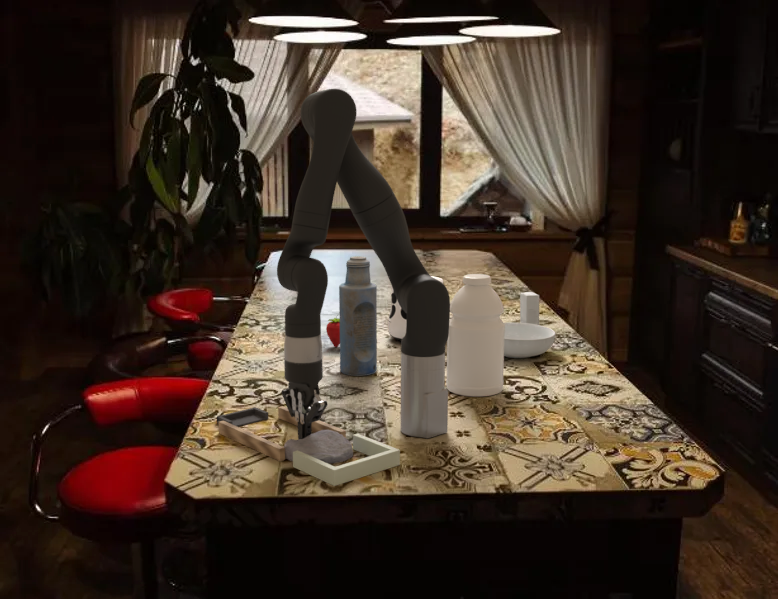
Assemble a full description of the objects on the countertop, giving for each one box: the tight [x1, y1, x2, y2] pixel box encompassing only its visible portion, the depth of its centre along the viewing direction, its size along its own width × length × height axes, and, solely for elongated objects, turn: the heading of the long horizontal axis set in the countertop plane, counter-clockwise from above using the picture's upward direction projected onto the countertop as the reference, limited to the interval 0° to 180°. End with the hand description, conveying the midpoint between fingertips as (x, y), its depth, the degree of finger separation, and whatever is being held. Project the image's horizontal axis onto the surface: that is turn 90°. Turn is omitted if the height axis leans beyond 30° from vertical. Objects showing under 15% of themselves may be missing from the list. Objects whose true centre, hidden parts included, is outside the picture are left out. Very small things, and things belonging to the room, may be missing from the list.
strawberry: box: [325, 314, 340, 348], centre depth 275 cm, size 6×8×10 cm
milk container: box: [387, 275, 445, 342], centre depth 284 cm, size 17×17×18 cm
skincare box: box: [519, 291, 540, 325], centre depth 293 cm, size 6×4×12 cm
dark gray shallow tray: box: [216, 407, 269, 427], centre depth 210 cm, size 5×10×2 cm, turn 132°
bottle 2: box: [445, 273, 506, 397], centre depth 232 cm, size 14×14×28 cm
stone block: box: [283, 430, 354, 465], centre depth 188 cm, size 12×5×10 cm
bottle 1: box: [338, 255, 378, 377], centre depth 247 cm, size 10×10×30 cm
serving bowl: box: [504, 322, 556, 359], centre depth 268 cm, size 21×21×7 cm
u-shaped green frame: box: [292, 433, 401, 487], centre depth 184 cm, size 13×16×3 cm
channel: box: [218, 405, 347, 462], centre depth 199 cm, size 22×16×2 cm
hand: (304, 439), depth 194 cm, fingers closed
